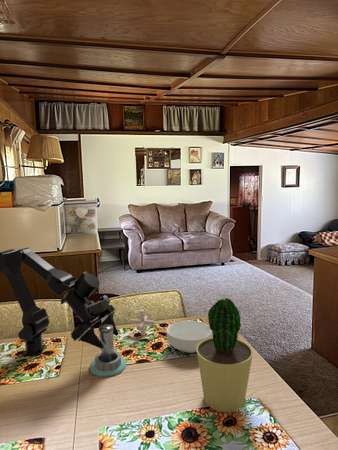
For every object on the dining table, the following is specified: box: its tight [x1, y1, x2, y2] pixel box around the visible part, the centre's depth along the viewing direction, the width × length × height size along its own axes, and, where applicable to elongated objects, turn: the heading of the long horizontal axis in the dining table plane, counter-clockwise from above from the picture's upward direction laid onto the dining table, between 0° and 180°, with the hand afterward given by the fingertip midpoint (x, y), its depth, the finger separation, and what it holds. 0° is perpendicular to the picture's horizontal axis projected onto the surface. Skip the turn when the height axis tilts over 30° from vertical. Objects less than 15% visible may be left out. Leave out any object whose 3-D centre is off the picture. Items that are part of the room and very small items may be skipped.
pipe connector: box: [129, 309, 156, 336], centre depth 134 cm, size 10×10×10 cm
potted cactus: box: [196, 297, 254, 413], centre depth 92 cm, size 15×15×30 cm
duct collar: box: [89, 350, 127, 378], centre depth 112 cm, size 12×12×3 cm
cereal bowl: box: [166, 320, 213, 354], centre depth 123 cm, size 17×17×7 cm
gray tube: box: [98, 324, 115, 363], centre depth 111 cm, size 5×5×13 cm
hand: (110, 341), depth 110 cm, fingers open, 9 cm apart
